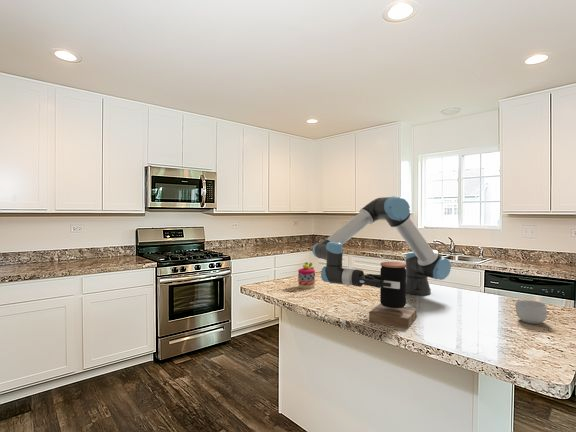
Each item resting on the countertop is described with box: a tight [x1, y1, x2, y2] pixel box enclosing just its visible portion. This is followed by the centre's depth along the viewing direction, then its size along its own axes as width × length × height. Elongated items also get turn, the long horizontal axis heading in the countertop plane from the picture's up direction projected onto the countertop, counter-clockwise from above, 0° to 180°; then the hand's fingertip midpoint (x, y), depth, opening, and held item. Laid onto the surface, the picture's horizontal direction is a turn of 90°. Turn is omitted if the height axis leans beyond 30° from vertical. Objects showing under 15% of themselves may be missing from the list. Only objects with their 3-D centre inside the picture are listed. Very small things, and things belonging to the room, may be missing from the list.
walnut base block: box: [368, 302, 418, 329], centre depth 144 cm, size 16×16×4 cm
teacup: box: [514, 299, 548, 325], centre depth 143 cm, size 14×11×8 cm
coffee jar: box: [379, 261, 407, 308], centre depth 144 cm, size 11×11×18 cm
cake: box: [297, 261, 316, 290], centre depth 205 cm, size 10×11×15 cm
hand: (403, 283), depth 142 cm, fingers closed on coffee jar, 11 cm apart
